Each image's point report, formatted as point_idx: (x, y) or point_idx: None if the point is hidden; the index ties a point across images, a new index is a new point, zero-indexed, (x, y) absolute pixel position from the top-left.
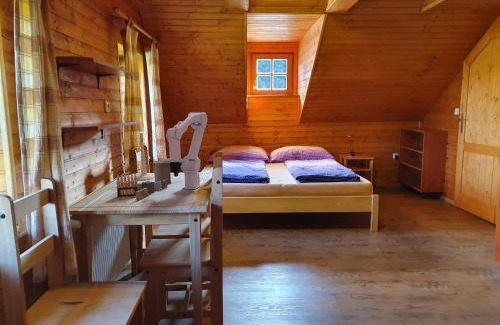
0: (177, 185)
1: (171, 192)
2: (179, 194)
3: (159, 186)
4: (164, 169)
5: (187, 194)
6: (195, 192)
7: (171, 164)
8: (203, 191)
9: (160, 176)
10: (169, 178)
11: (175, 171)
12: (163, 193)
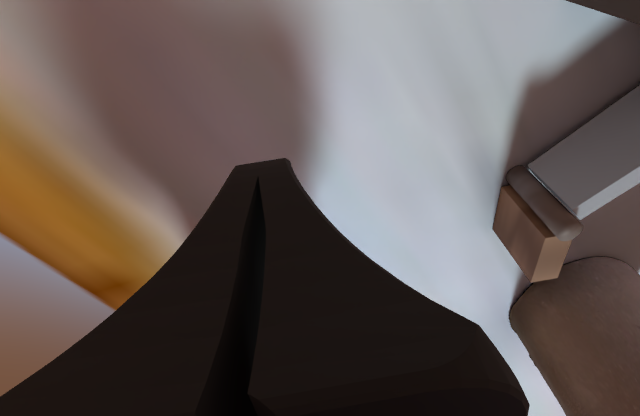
0: (432, 297)
1: (356, 83)
2: (196, 28)
3: (560, 165)
4: (633, 407)
5: (100, 64)
6: (96, 173)
7: (350, 393)
8: (56, 230)
9: (627, 323)
10: (535, 344)
11: (230, 224)
12: (429, 4)
